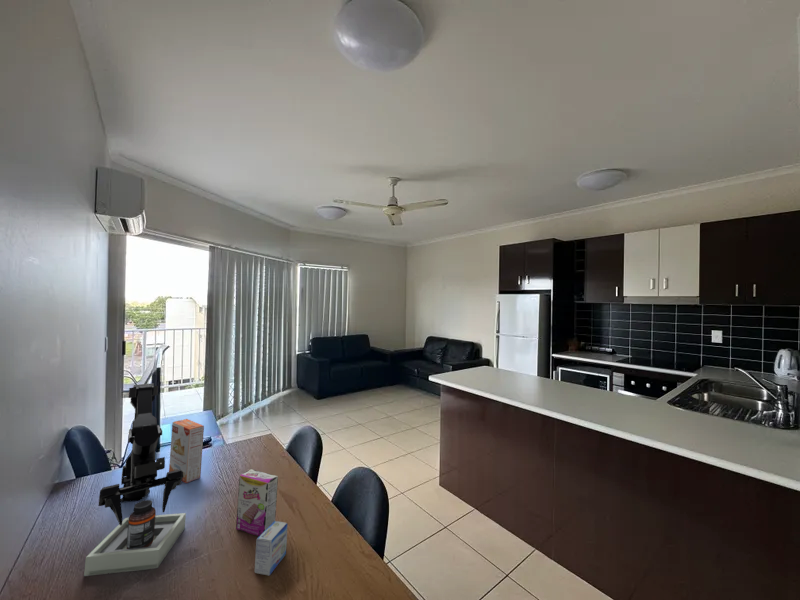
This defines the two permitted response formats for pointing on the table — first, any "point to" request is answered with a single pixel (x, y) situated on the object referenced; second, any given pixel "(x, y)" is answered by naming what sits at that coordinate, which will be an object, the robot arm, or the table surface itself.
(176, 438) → the cracker box
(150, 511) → the supplement bottle
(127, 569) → the bore box
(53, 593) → the table surface
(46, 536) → the table surface
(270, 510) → the candy bar box
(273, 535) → the medicine box
